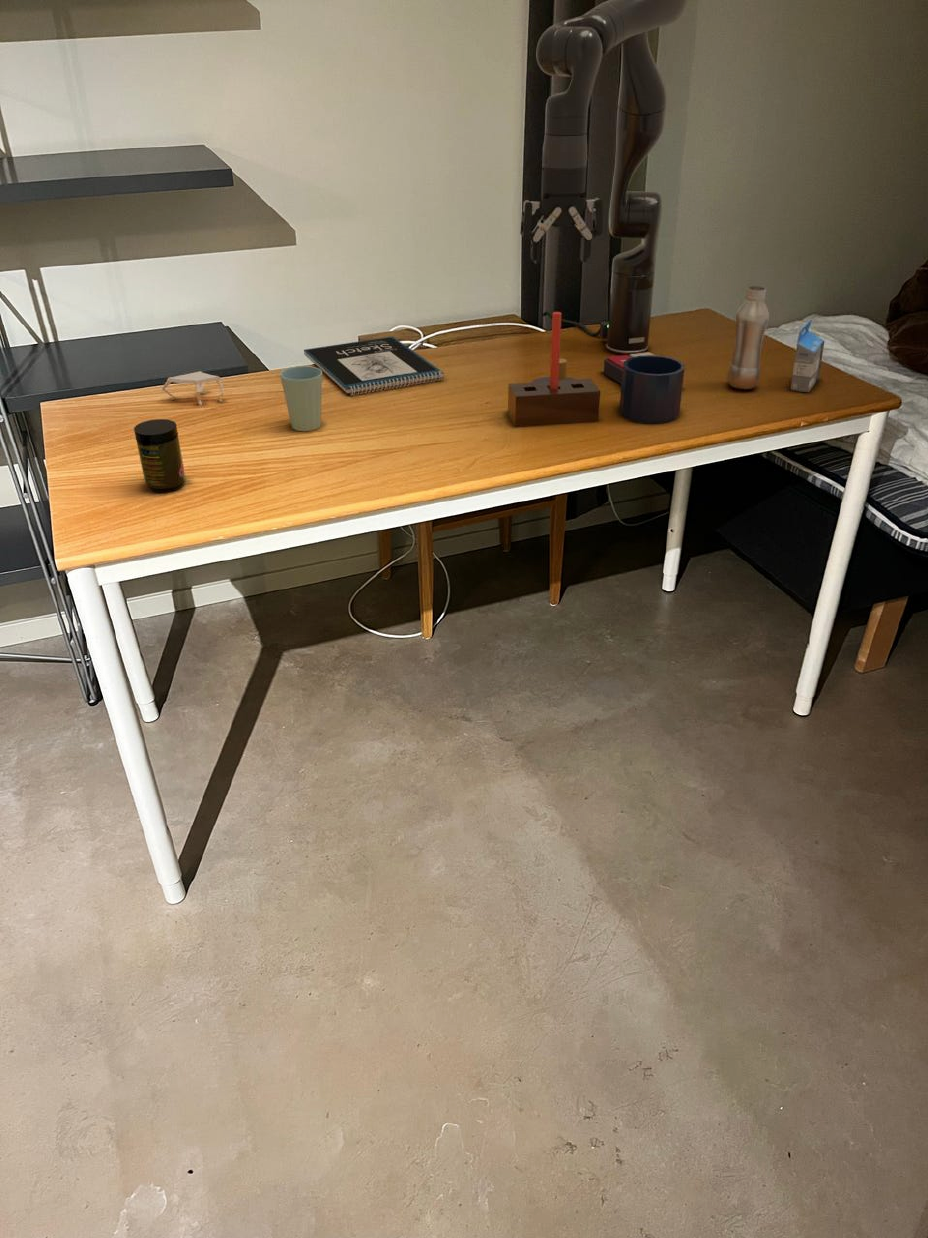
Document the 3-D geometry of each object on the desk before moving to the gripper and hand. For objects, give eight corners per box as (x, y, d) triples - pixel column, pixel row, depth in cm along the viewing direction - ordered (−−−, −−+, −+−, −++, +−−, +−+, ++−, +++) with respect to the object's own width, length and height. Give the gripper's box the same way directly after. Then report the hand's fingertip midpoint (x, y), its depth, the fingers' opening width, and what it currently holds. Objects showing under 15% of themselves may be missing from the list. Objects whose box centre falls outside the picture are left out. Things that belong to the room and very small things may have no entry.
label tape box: (808, 393, 200) (819, 332, 194) (788, 389, 202) (798, 329, 195) (818, 380, 207) (830, 321, 200) (799, 376, 209) (809, 318, 202)
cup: (323, 416, 192) (318, 363, 187) (330, 430, 186) (325, 377, 180) (284, 420, 191) (277, 367, 185) (289, 435, 184) (283, 381, 179)
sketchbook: (392, 341, 231) (392, 332, 230) (445, 381, 208) (445, 371, 207) (304, 354, 223) (303, 345, 222) (349, 397, 201) (348, 387, 199)
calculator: (650, 350, 212) (684, 368, 200) (649, 369, 215) (682, 389, 202) (603, 355, 210) (635, 374, 197) (602, 375, 212) (634, 395, 200)
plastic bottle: (755, 381, 206) (770, 283, 195) (760, 393, 201) (776, 293, 190) (723, 381, 207) (737, 283, 196) (727, 392, 201) (742, 292, 190)
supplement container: (184, 492, 165) (174, 433, 159) (143, 495, 164) (130, 436, 158) (188, 475, 170) (178, 417, 164) (148, 477, 169) (136, 420, 164)
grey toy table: (222, 389, 205) (219, 366, 202) (226, 403, 198) (223, 379, 196) (163, 395, 202) (158, 372, 200) (165, 410, 196) (160, 386, 193)
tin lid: (521, 383, 206) (521, 352, 203) (579, 380, 208) (581, 348, 204) (534, 405, 196) (535, 372, 192) (596, 401, 198) (598, 368, 194)
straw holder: (507, 413, 193) (508, 383, 190) (588, 407, 195) (590, 378, 192) (515, 426, 187) (515, 396, 184) (598, 421, 189) (600, 390, 186)
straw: (547, 415, 191) (551, 311, 181) (555, 415, 192) (560, 311, 181) (549, 419, 190) (553, 314, 179) (557, 418, 190) (562, 313, 179)
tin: (612, 403, 196) (616, 356, 191) (667, 400, 198) (672, 353, 193) (629, 425, 187) (633, 376, 182) (687, 421, 188) (693, 372, 183)
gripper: (599, 158, 173) (593, 255, 181) (518, 161, 171) (516, 258, 179) (611, 164, 166) (604, 265, 175) (528, 167, 164) (525, 268, 173)
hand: (560, 261), depth 177 cm, fingers open, 8 cm apart
